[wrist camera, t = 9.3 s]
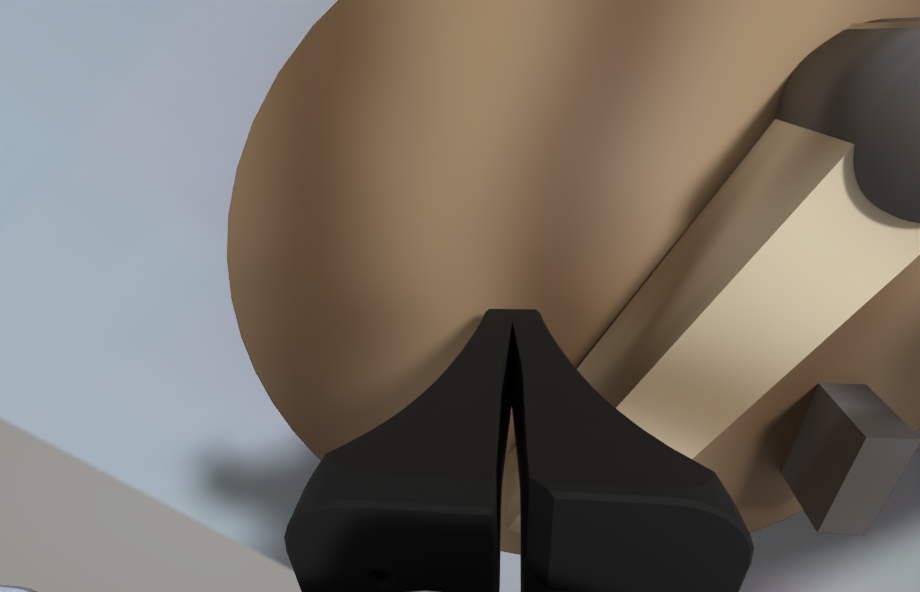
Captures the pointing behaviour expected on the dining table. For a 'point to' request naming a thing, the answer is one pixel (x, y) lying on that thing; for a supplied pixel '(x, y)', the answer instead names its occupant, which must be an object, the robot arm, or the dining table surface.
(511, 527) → the hinged leg
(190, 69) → the dining table surface
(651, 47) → the stool seat
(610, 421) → the robot arm
